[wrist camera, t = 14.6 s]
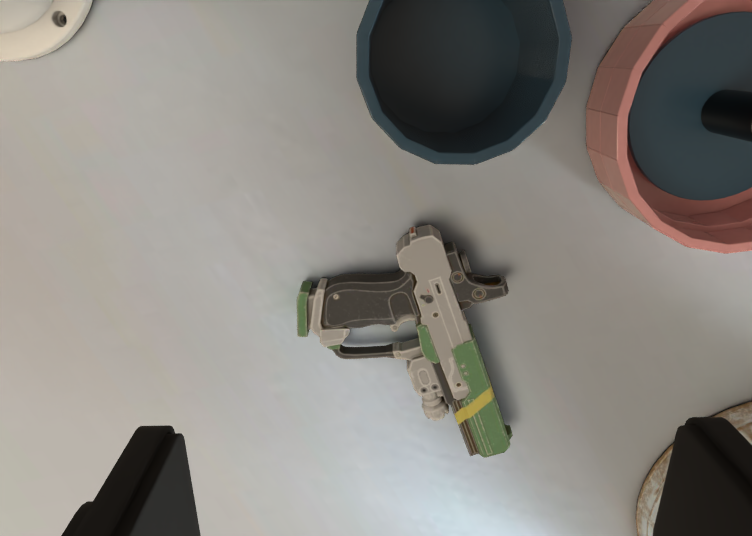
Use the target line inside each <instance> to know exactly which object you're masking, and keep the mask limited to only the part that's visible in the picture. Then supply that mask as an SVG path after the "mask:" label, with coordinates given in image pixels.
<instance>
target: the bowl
mask: <svg viewBox="0 0 752 536" xmlns="http://www.w3.org/2000/svg"><path fill="white" fill-rule="evenodd" d="M744 11H745V12H752V0H653V1H652V2H651V3H650V4H649V5H648V6H647V7H646V8H644V9H643V10H642V11H641V12H640V13H639V14H638V15H637V16H636V17H635V18H633V19H632V20H631V21H630V22H629V23H628V24H627V25H626V26H625V27H624V29H622V30H621V32H620V33H619V35H618V37H617V38H616V40H615V41H614V43H613V45H612V46H611V48H610V49H609V51H608V52H607V54H606V56H605V57H604V59H603V60H602V62H601V63H600V65H599V67H598V69H597V73H596V76H595V79H594V83H593V86H592V89H591V93H590V96H589V99H588V103H587V106H586V146H587V150H588V153H589V156H590V159H591V162H592V164H593V167H594V170H595V173H596V176H597V179H598V180H599V183H600V184H601V185H602V186H603V187H604V188H605V190H606V191H607V192H608V193H609V194H610V196H611V197H612V198H613V199H614V200H615V202H616V203H617V204H618V205H619V206H620V207H621V208H622V209H624V210H626V211H627V212H629V213H630V214H632V215H633V216H635V217H637V218H638V219H640V220H641V221H643V222H644V223H646V224H648V225H649V226H651V227H652V228H654V229H656V230H657V231H659V232H661V233H663V234H664V235H666V236H668V237H670V238H672V239H673V240H675V241H677V242H679V243H680V244H682V245H684V246H687V247H690V248H696V249H702V250H707V251H713V252H719V253H734V252H742V251H750V250H752V187H751V188H750V189H748V190H746V191H743V192H741V193H738V194H736V195H733V196H729V197H726V198H722V199H716V200H704V201H699V200H689V199H684V198H680V197H677V196H674V195H671V194H669V193H667V192H665V191H663V190H661V189H659V188H658V187H656V186H655V185H654V184H652V183H651V182H650V181H649V180H648V179H647V178H646V177H645V176H644V175H643V174H642V173H641V171H640V170H639V168H638V167H637V165H636V163H635V161H634V159H633V157H632V155H631V152H630V149H629V145H628V140H627V126H628V113H629V110H630V107H631V104H632V101H633V98H634V95H635V92H636V89H637V86H638V83H639V80H640V77H641V74H642V72H643V70H644V69H645V67H646V66H647V64H648V63H649V61H650V60H651V58H652V57H653V55H654V54H655V53H656V52H657V51H658V50H659V49H660V48H661V47H662V46H663V45H664V44H665V43H666V42H667V41H668V40H669V39H670V38H672V37H673V36H674V35H675V34H677V33H678V32H680V31H681V30H683V29H684V28H686V27H688V26H689V25H691V24H693V23H695V22H698V21H700V20H702V19H705V18H708V17H711V16H714V15H718V14H723V13H729V12H744Z"/></svg>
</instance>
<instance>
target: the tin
mask: <svg viewBox="0 0 752 536" xmlns="http://www.w3.org/2000/svg"><path fill="white" fill-rule="evenodd" d="M571 36H572V35H571V31H570V27H569V23H568V19H567V15H566V11H565V7H564V3H563V0H369V3H368V5H367V8H366V10H365V13H364V16H363V18H362V21H361V23H360V26H359V29H358V31H357V71H356V78H357V81H358V84H359V86H360V89H361V92H362V94H363V97H364V99H365V102H366V105H367V107H368V110H369V112H370V115H371V117H372V118H373V120H374V121H375V122H376V123H377V124H378V126H379V127H380V128H381V129H382V130H383V131H384V132H385V133H386V134H387V135H388V136H389V137H390V138H391V139H392V140H393V141H394V143H395V144H396V145H397V146H398V147H400V148H401V149H403V150H405V151H407V152H410V153H412V154H414V155H416V156H419V157H421V158H423V159H425V160H428V161H430V162H432V163H434V164H465V165H474V164H478V163H481V162H484V161H486V160H489V159H491V158H494V157H497V156H499V155H502V154H504V153H507V152H510V151H512V150H513V149H515V148H516V147H517V146H518V145H520V144H521V143H522V142H523V141H524V140H525V139H526V138H527V137H528V136H530V135H531V134H532V133H533V132H534V131H535V130H536V129H537V128H538V127H540V126H541V125H542V124H543V123H544V122H545V120H546V119H547V117H548V115H549V113H550V111H551V109H552V108H553V106H554V104H555V102H556V100H557V98H558V96H559V94H560V92H561V91H562V89H563V87H564V85H565V82H566V79H567V71H568V63H569V56H570V48H571V41H572V37H571Z"/></svg>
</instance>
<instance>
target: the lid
mask: <svg viewBox="0 0 752 536" xmlns="http://www.w3.org/2000/svg"><path fill="white" fill-rule="evenodd" d="M627 140H628V145H629V149H630V152H631V155H632V157H633V159H634V161H635V163H636V165H637V167H638V168H639V170H640V171H641V173H642V174H643V175H644V176H645V177H646V178H647V179H648V180H649V181H650V182H651V183H652V184H654V185H655V186H656V187H658V188H659V189H661V190H663V191H665V192H667V193H669V194H671V195H674V196H677V197H680V198H684V199H689V200H699V201H704V200H716V199H722V198H726V197H729V196H733V195H736V194H738V193H741V192H743V191H746V190H748V189H750V188H751V187H752V12H745V11H744V12H729V13H723V14H718V15H714V16H711V17H708V18H705V19H702V20H700V21H698V22H695V23H693V24H691V25H689V26H688V27H686V28H684V29H683V30H681V31H680V32H678V33H677V34H675V35H674V36H673V37H672V38H670V39H669V40H668V41H667V42H666V43H665V44H664V45H663V46H662V47H661V48H660V49H659V50H658V51H657V52H656V53H655V54H654V55H653V57H652V58H651V60H650V61H649V63H648V64H647V66H646V67H645V69H644V70H643V72H642V74H641V77H640V80H639V83H638V86H637V89H636V92H635V95H634V98H633V101H632V104H631V107H630V110H629V113H628V126H627Z"/></svg>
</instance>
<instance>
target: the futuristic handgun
mask: <svg viewBox="0 0 752 536" xmlns="http://www.w3.org/2000/svg"><path fill="white" fill-rule="evenodd" d="M396 256H397V260H398V263H399V267H400V268H401V270H400V271H398V272H396V273H388V274H344V275H339V276H336V277H334V278H332V279H330V280H329V281H328V280H327V279H325V278H321V279H320V282H319V284H318V287H317V289H311V286H312V282H307V281H303V283H302V286H301V289H300V291H299V294H298V298H297V331H298V337H307V336H308V332H309V329H312V331H313V333H315V334H316V335H318V336H319V337H320V343H321V344H322V345H323V346H324V347H327V348H329V349H332V350H333V351H334V353H335V354H336V356H338V357H340V358H343V359H361V358H378V357H390V358H396V359H403V360H407V371H408V373H409V376H410V379H411V381H412V384H413V386H414V389H415V391H416V392H417V393H418V394H419V396H422V400H423V404H422V408H423V410H424V413H425V415H426V416H427V417H428V418H431V419H432V420H434V421H437V420H441V419H443V418H444V413H446V414H448V412H449V406H448V404H449V405H451V407H452V409H453V412H454V415H455V417H456V420H457V423H458V425H459V428H460V431H461V433H462V436H463V439H464V441H465V444H466V447H467V449H468V452H469V455H470V456H473V455H475V454H480V455H481V456H482V457H484V458H485V457H489V456H492V455H496V454H500V453H504V452H505V451H506V450H507V449H508V448H509V447H510V441H509V440H510V439H511V437H512V431H511V428H510V426H509V425H505V424H504V421H503V418H502V415H501V412H500V409H499V406H498V403H497V401H496V398H495V395H494V392H493V389H492V386H491V383H490V380H489V377H488V374H487V371H486V368H485V365H484V362H483V359H482V356H481V353H480V350H479V347H478V344H477V341H476V338H475V335H474V332H473V329H472V327H471V324H469V323H468V322H467V319H466V316H465V313H464V309H467V308H470V307H471V306H472V304H473V303H474V304H479V303H482V302H486V301H490V300H493V299H497V298H500V297H503V296H506V295H507V294H508V291H509V290H508V287H507V283H506V279H505V278H504V276H501V275H491V276H483V275H477V274H473V273H471V269H470V266H469V263H468V260H467V257H466V253H465V251H461V252H459V254H458V252H457V249H456V246H455V243H454V242H450V243H447V244H443V241H442V238H441V235H440V232H439V230H437V229H436V228H434V227H433V226H432V225H425V226H421V227H418V228H415V226H414V227H411V228H410V231H409V234H406V235H404V236H403V237H402V238H401V239H400V240H399V241H398V242H397V243H396ZM408 320H415V322H416V328H417V332H418V337H419V338H417V339H413V340H410V341H406V342H403V343H401V342H395V343H392V344H389V345H386V346H372V347H345V346H343V345H341V344H342V342H343V341H344V339H345V338H346V337H347V336H348V335H349V333H350V328H361V327H365V326H369V325H375V324H382V325H390V327H391V329H392V332H396V331H397V329H398V328H399V326H400V324H402V323H404V322H406V321H408Z"/></svg>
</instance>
